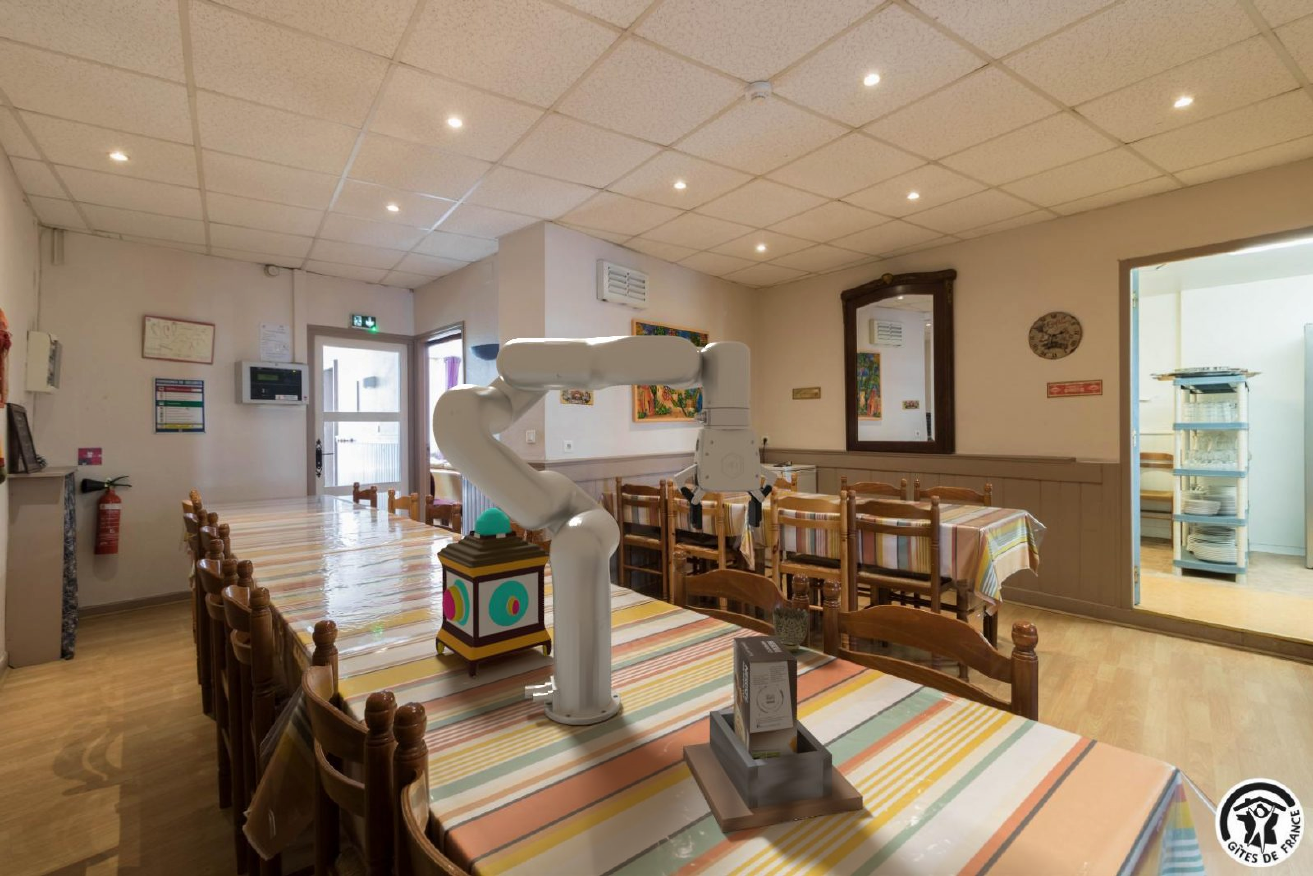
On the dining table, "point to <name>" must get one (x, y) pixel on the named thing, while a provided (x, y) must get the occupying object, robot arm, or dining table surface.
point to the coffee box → (765, 696)
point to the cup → (790, 627)
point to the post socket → (766, 779)
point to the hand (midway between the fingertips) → (725, 527)
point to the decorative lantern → (492, 593)
